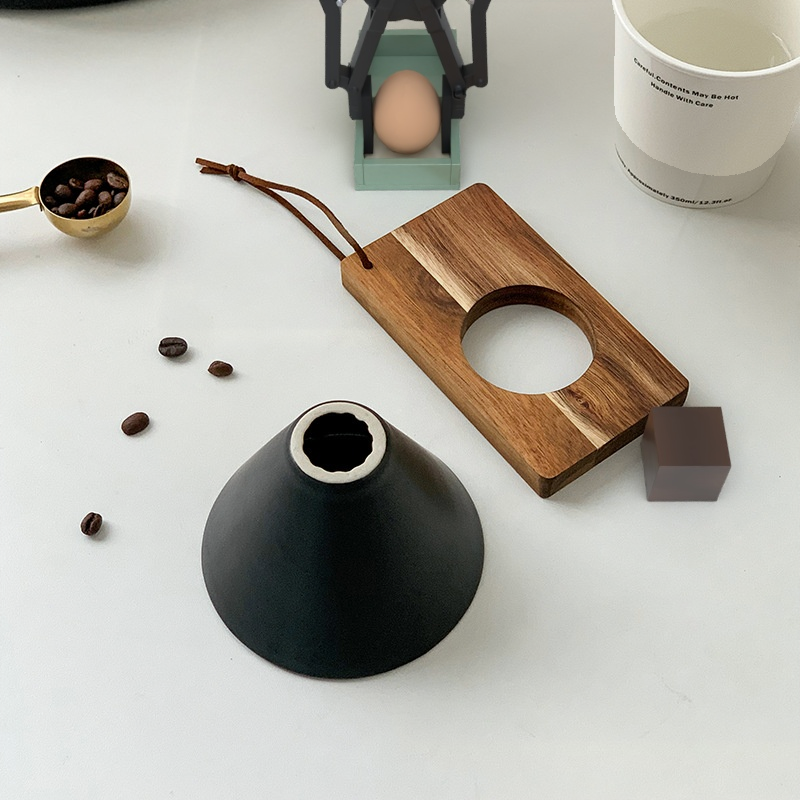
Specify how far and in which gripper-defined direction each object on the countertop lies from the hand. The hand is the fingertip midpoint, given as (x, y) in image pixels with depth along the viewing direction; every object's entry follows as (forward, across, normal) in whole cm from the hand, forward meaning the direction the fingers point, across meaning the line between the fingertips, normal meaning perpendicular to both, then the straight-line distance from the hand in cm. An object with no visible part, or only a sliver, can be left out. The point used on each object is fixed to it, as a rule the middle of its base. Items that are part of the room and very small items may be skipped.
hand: (407, 142), depth 105 cm
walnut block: (+2, +20, -33) cm, 38 cm away
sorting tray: (+1, 0, +4) cm, 4 cm away
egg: (+1, 0, 0) cm, 1 cm away
